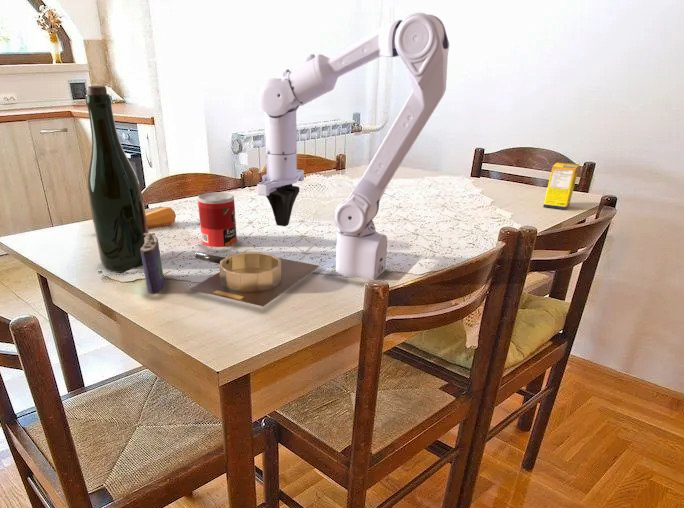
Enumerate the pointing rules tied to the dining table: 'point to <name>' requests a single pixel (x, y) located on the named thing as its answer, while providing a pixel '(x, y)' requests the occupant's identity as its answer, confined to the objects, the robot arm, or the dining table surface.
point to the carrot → (160, 217)
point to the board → (289, 277)
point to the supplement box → (561, 185)
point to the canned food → (217, 219)
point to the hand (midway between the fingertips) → (282, 224)
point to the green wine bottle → (113, 190)
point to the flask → (152, 264)
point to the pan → (247, 271)
